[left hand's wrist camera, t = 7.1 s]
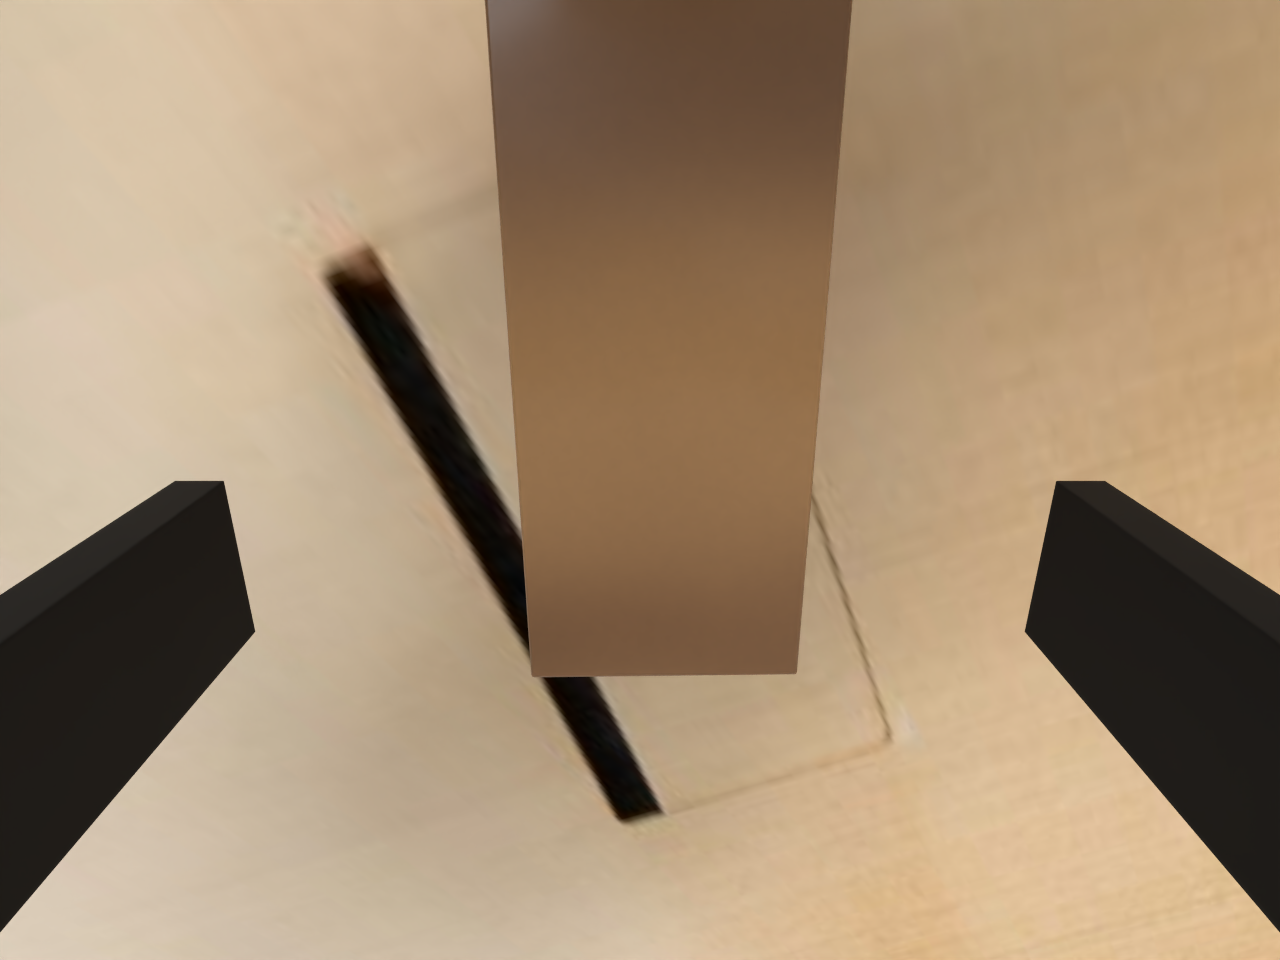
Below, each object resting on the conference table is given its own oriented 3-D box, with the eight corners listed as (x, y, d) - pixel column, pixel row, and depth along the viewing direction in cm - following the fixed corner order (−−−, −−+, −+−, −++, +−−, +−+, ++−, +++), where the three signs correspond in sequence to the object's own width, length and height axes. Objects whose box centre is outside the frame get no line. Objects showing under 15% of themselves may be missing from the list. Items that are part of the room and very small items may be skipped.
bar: (743, 512, 23) (796, 675, 16) (563, 513, 23) (531, 677, 16) (793, -527, 15) (953, -1220, 8) (515, -527, 15) (398, -1226, 7)
